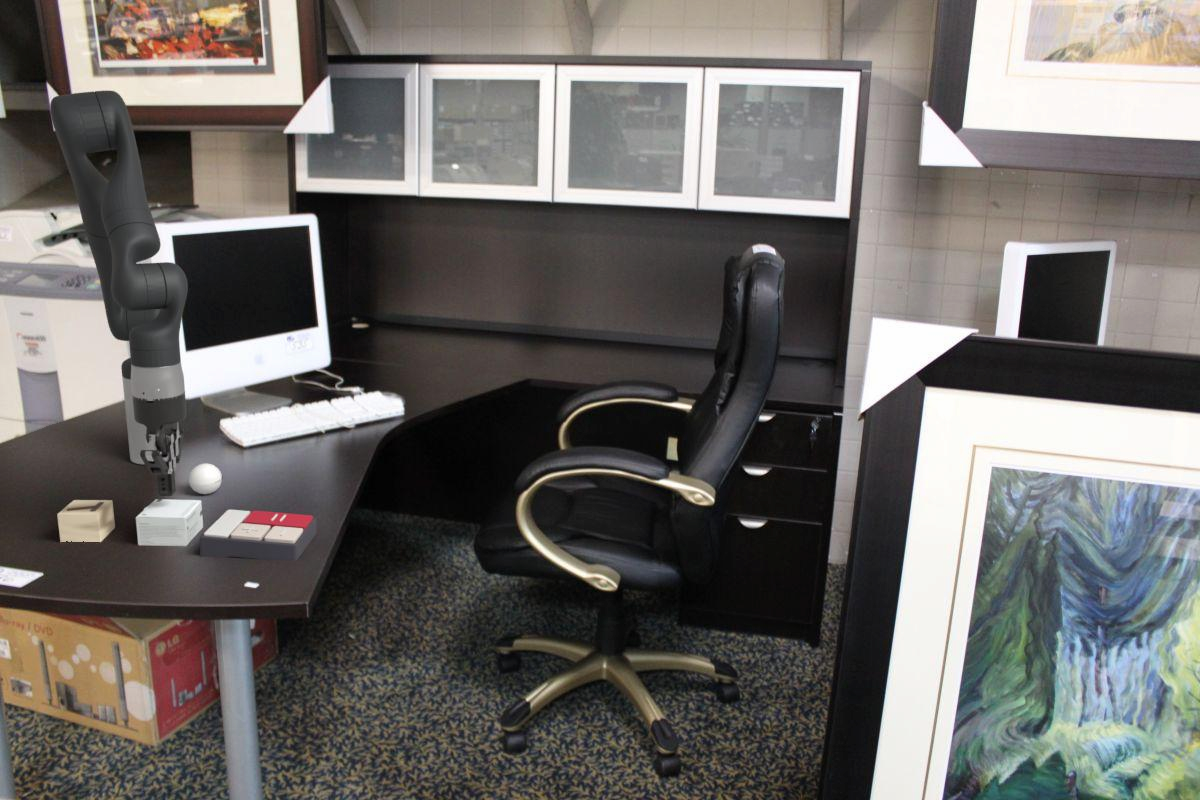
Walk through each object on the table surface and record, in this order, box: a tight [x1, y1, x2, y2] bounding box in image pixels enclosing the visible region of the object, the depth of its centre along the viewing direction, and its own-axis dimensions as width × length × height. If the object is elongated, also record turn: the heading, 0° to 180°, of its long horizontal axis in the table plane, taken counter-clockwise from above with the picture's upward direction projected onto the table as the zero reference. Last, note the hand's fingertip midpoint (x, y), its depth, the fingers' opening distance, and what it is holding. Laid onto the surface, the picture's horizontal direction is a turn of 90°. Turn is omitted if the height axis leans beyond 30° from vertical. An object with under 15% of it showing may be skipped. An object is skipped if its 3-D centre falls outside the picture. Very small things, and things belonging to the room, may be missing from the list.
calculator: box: [199, 509, 318, 561], centre depth 152 cm, size 11×4×15 cm
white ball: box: [188, 462, 223, 495], centre depth 173 cm, size 8×6×6 cm
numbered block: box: [57, 499, 116, 543], centre depth 152 cm, size 6×6×5 cm
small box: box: [135, 498, 204, 547], centre depth 153 cm, size 8×8×5 cm
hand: (167, 494), depth 152 cm, fingers closed
